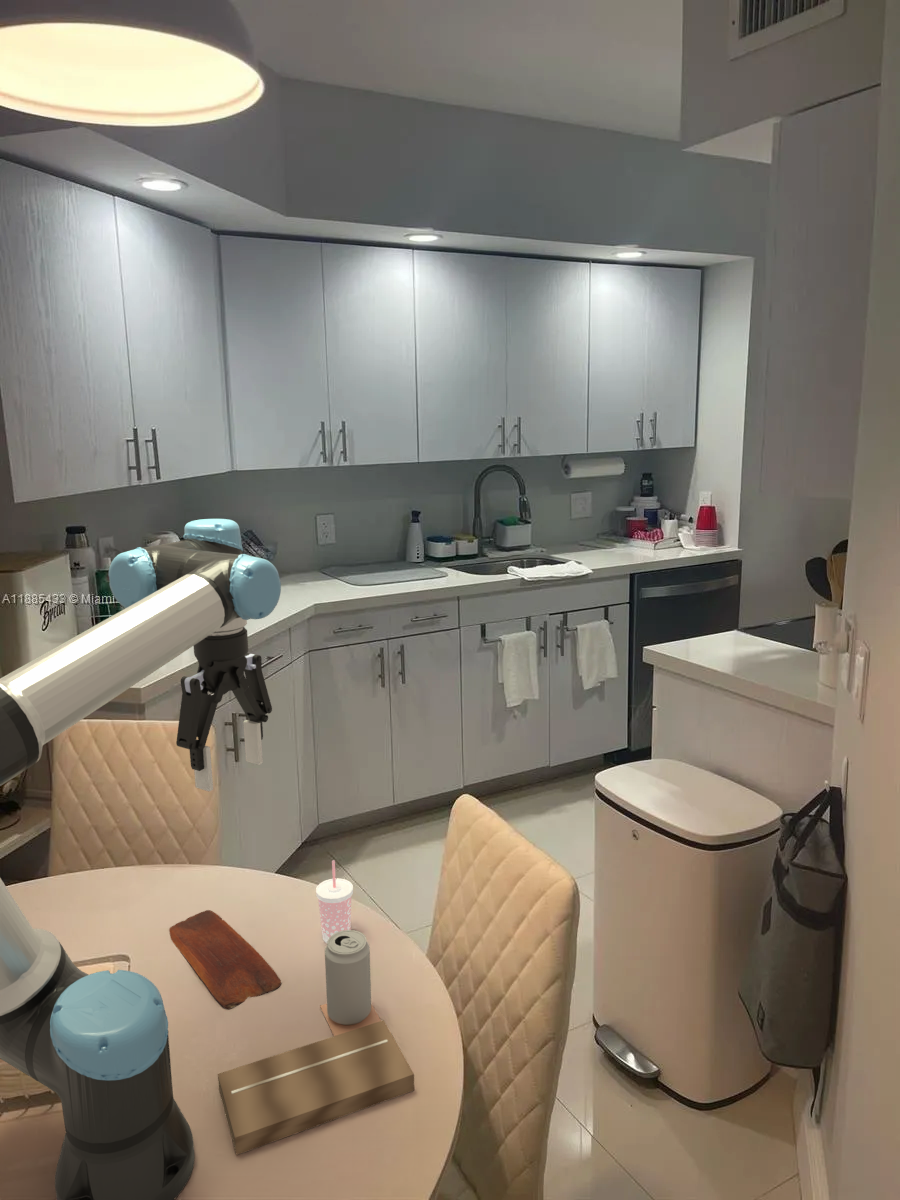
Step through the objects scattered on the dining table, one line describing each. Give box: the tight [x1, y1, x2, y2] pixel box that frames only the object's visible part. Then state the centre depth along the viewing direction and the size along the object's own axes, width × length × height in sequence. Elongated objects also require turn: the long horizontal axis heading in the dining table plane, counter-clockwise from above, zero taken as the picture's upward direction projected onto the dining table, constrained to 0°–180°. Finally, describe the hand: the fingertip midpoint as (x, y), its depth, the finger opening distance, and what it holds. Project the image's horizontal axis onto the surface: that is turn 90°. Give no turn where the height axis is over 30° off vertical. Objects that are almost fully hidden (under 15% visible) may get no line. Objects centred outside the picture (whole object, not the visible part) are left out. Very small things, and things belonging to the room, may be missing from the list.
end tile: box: [319, 1003, 382, 1037], centre depth 127 cm, size 7×7×1 cm
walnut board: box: [217, 1019, 415, 1156], centre depth 113 cm, size 23×11×3 cm, turn 115°
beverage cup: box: [315, 859, 354, 944], centre depth 143 cm, size 6×6×14 cm
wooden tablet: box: [168, 909, 282, 1010], centre depth 141 cm, size 27×10×2 cm, turn 37°
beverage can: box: [324, 929, 372, 1025], centre depth 125 cm, size 6×6×12 cm
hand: (230, 774), depth 128 cm, fingers open, 10 cm apart
